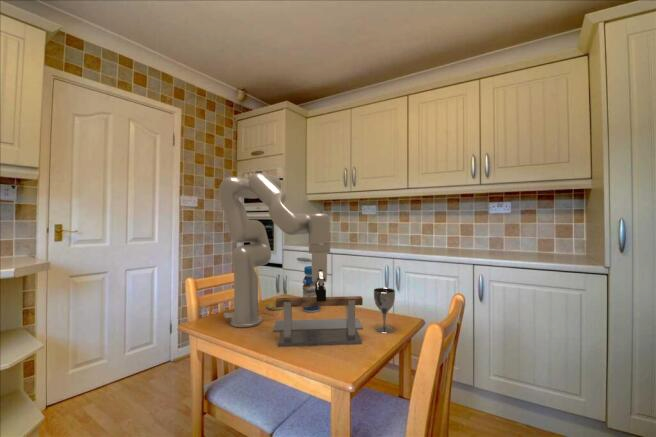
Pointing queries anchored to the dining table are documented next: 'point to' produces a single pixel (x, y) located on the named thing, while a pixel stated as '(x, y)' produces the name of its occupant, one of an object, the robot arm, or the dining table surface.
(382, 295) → the wine glass
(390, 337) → the dining table surface
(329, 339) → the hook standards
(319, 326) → the grey mat
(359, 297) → the walnut rail
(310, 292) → the beverage bottle
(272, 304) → the bread roll
